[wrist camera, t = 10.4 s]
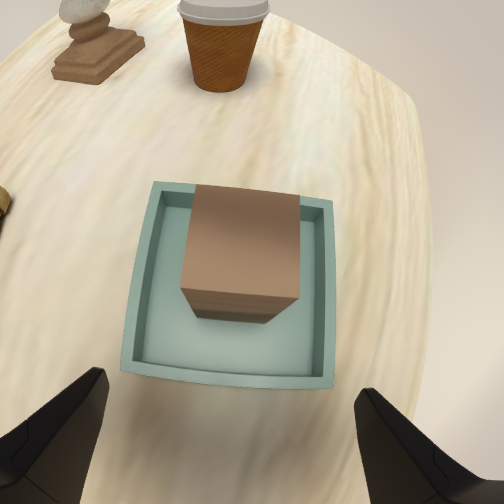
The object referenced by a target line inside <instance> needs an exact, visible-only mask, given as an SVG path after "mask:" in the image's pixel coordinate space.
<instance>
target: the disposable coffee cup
mask: <svg viewBox="0 0 504 504" xmlns="http://www.w3.org/2000/svg"><path fill="white" fill-rule="evenodd" d="M177 10H178V11H179V13H180V15H181V17H182V18H183V23H184V28H185V34H186V38H187V39H186V40H187V45H188V50H189V54H190V60H191V65H192V70H193V75H194V81H195V83H196V84H197V86H199V87H200V88H202V89H204V90H207V91H212V92H227V91H232V90H235V89H237V88H239V87H240V86H242V85H243V83H244V82H245V78H246V74H247V71H248V68H249V65H250V61H251V58H252V54H253V51H254V48H255V45H256V42H257V38H258V36H259V32H260V29H261V26H262V23H263V19H264V18H265V17H266V16H267V14H268V13H269V12H270V5H269V4H268V0H181V2H180V3H179V4H178V7H177Z"/></svg>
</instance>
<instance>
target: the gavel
mask: <svg viewBox="0 0 504 504" xmlns="http://www.w3.org/2000/svg"><path fill="white" fill-rule="evenodd" d="M10 201H11V197H10V195H9V193H8V192H7V191H6V190H5V189H4V188H2V187H1V186H0V217H1V216H5V214H6V211H7V209H8V206H9V203H10Z"/></svg>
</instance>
